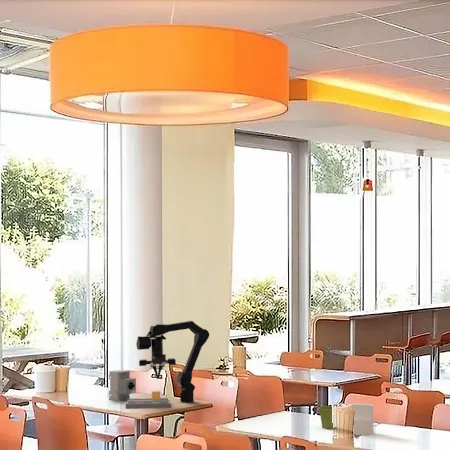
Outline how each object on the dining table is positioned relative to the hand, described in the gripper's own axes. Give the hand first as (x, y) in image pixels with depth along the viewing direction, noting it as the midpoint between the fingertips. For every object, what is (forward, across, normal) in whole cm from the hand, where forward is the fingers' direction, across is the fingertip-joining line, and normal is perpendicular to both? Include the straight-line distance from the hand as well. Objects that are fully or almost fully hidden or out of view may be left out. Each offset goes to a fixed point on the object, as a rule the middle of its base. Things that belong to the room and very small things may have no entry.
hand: (157, 378), depth 489 cm
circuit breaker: (+13, -18, +18) cm, 29 cm away
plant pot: (+14, +73, -85) cm, 113 cm away
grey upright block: (+14, +84, -99) cm, 131 cm away
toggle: (+10, -1, -7) cm, 12 cm away
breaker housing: (+12, -5, -7) cm, 15 cm away
